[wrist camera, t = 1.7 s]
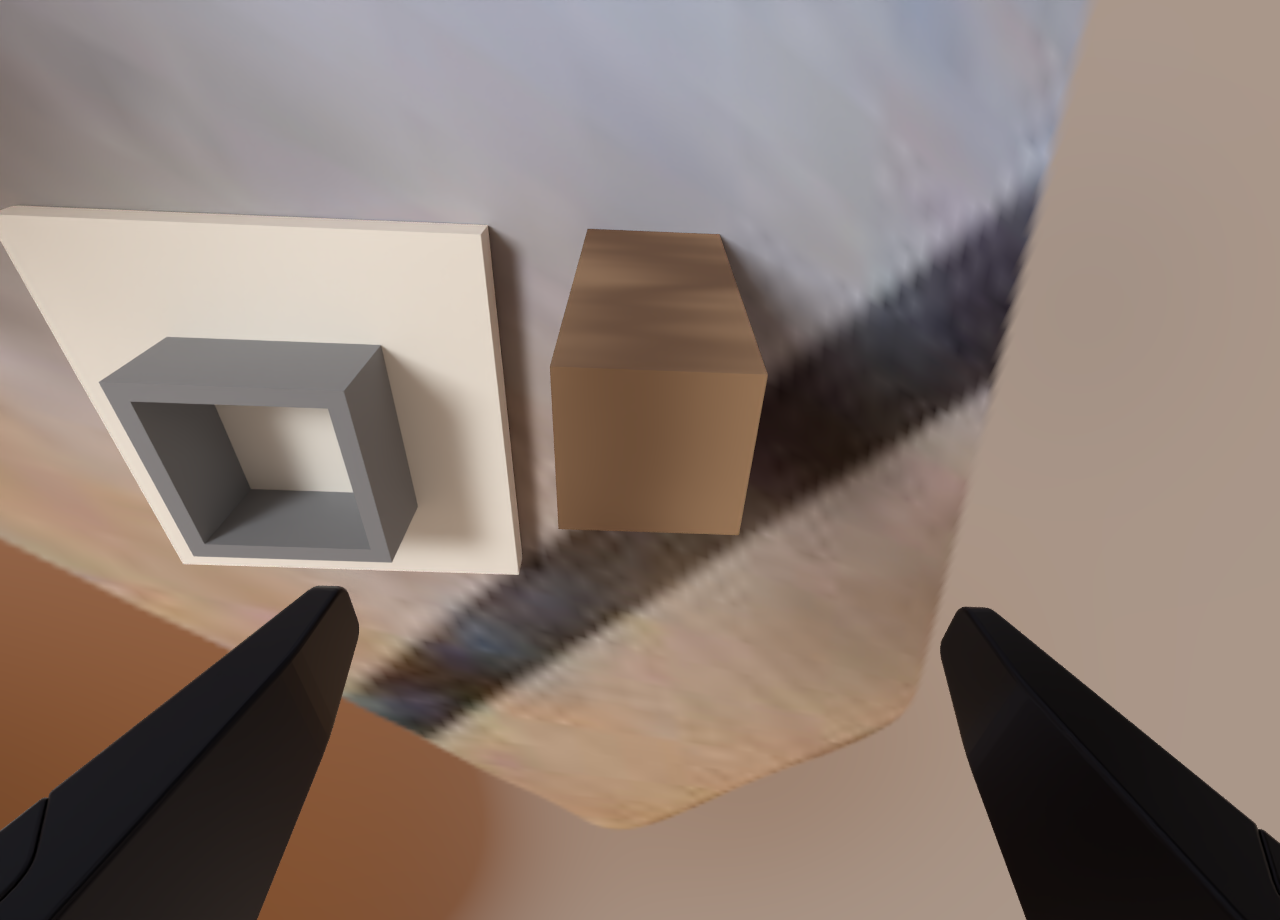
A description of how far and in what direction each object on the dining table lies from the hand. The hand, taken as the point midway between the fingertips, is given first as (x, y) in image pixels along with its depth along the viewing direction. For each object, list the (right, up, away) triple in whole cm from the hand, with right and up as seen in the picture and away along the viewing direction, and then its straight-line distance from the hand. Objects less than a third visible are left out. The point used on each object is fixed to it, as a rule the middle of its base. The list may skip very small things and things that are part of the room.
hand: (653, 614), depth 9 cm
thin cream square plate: (-12, +4, +13) cm, 18 cm away
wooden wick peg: (0, +8, +11) cm, 13 cm away
